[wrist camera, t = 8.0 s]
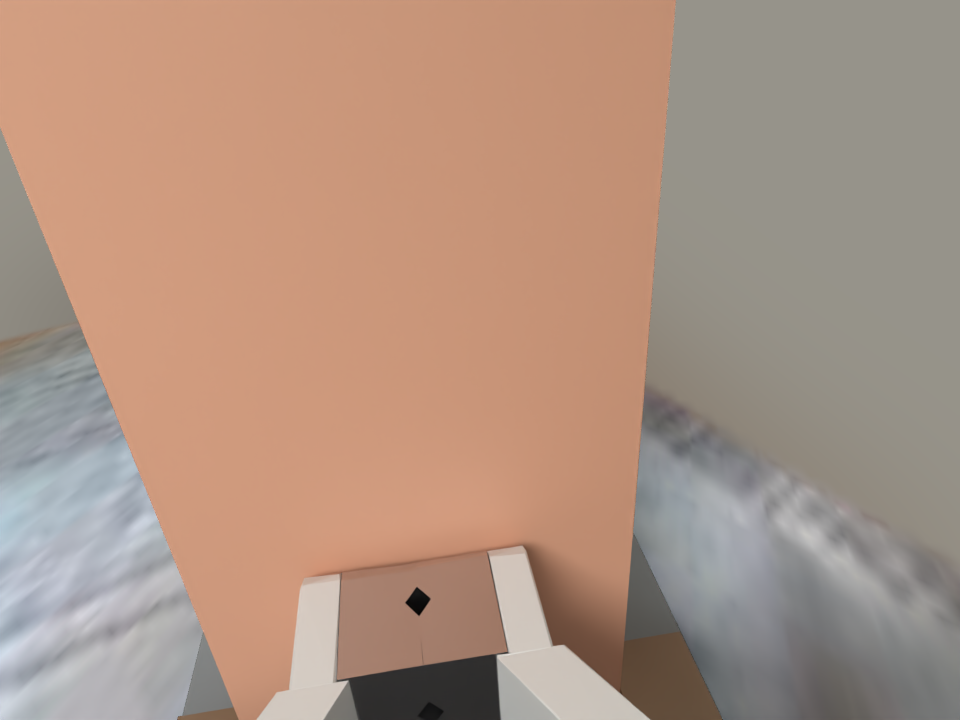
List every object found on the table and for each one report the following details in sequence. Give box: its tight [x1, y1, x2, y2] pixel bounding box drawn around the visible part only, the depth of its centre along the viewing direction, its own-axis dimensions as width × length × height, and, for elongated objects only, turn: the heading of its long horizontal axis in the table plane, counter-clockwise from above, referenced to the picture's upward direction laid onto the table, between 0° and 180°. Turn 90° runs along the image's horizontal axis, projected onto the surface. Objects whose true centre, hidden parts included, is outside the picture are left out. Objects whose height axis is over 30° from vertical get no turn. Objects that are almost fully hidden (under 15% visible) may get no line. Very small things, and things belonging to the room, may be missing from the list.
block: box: [0, 0, 676, 720], centre depth 12 cm, size 6×6×15 cm
